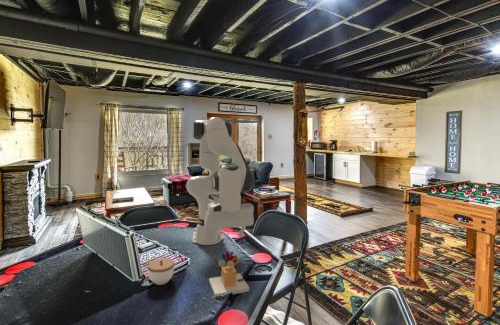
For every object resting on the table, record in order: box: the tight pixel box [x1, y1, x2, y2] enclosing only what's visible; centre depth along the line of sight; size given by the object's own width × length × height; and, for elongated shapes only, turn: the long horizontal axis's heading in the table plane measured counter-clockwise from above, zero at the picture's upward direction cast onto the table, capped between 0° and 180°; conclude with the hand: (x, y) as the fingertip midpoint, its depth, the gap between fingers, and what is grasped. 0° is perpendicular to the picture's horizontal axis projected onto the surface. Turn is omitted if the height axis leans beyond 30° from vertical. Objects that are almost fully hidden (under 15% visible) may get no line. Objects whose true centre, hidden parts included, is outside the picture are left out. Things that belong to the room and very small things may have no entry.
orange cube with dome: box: [220, 266, 237, 287], centre depth 110 cm, size 5×5×7 cm
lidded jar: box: [147, 257, 175, 286], centre depth 113 cm, size 11×11×9 cm
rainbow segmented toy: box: [217, 250, 239, 268], centre depth 128 cm, size 8×10×7 cm
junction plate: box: [208, 272, 250, 298], centre depth 111 cm, size 12×14×6 cm
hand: (229, 237), depth 109 cm, fingers open, 8 cm apart
